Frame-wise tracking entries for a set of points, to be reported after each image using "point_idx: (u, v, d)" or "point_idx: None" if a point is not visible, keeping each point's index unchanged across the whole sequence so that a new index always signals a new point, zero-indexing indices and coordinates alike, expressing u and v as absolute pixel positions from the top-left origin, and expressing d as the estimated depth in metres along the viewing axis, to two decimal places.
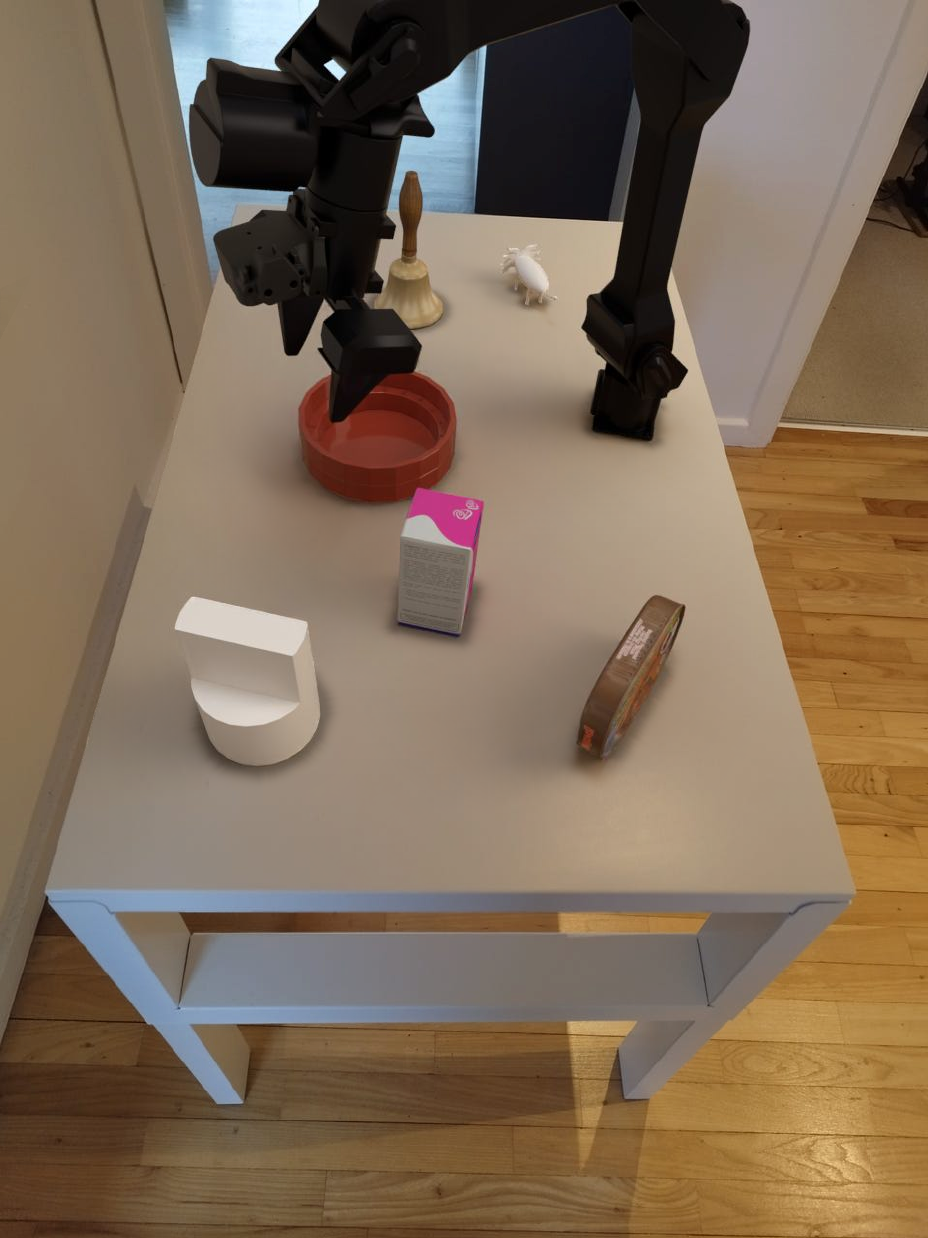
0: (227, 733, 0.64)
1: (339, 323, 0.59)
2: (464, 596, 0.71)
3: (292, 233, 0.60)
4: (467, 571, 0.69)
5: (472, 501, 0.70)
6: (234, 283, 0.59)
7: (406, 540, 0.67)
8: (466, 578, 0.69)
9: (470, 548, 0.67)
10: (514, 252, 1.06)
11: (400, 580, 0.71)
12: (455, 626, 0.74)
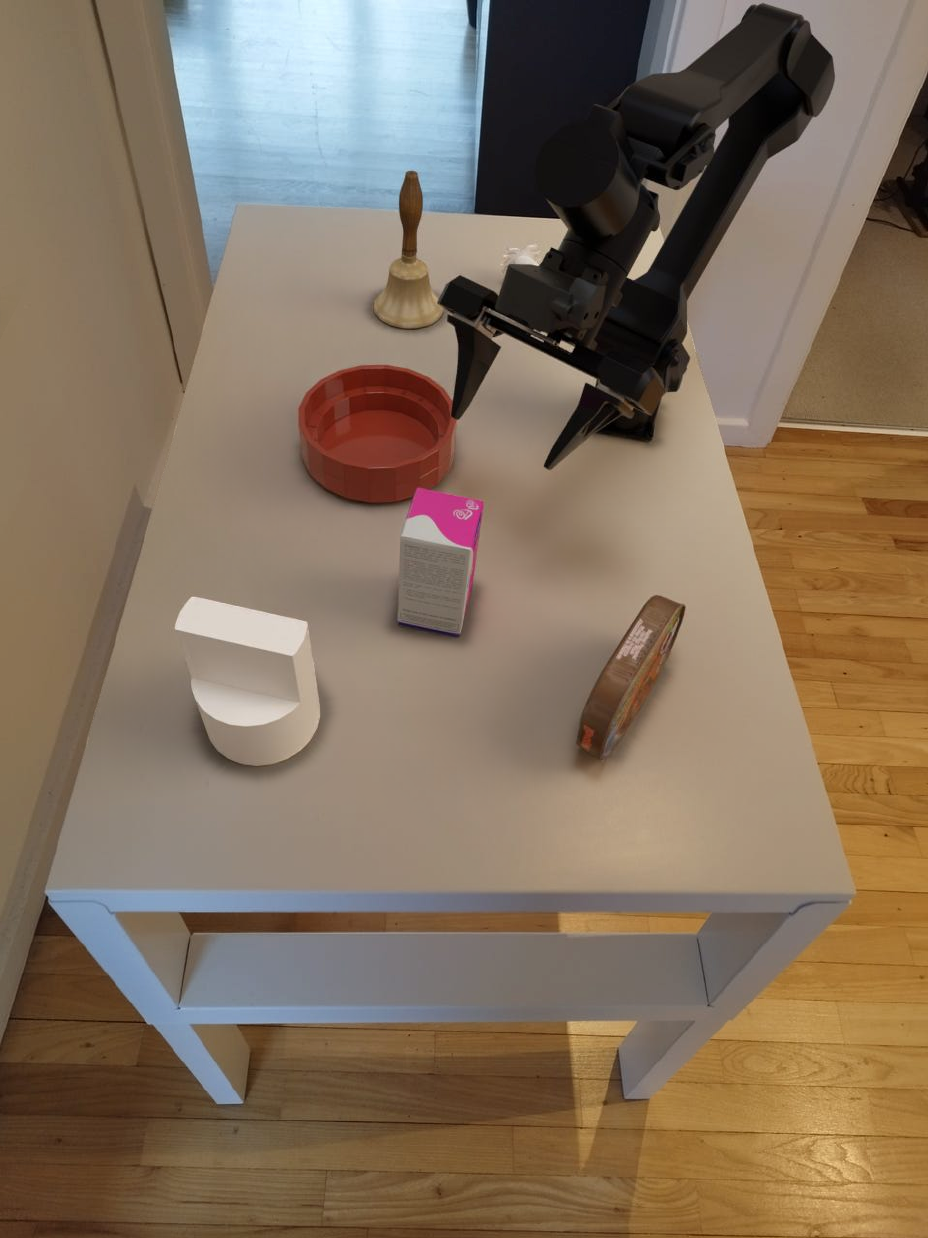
0: (227, 733, 0.64)
1: (623, 357, 0.64)
2: (464, 596, 0.71)
3: (569, 279, 0.65)
4: (467, 571, 0.69)
5: (473, 501, 0.70)
6: (542, 307, 0.61)
7: (406, 540, 0.67)
8: (466, 578, 0.69)
9: (470, 548, 0.67)
10: (514, 252, 1.06)
11: (400, 580, 0.71)
12: (455, 626, 0.74)
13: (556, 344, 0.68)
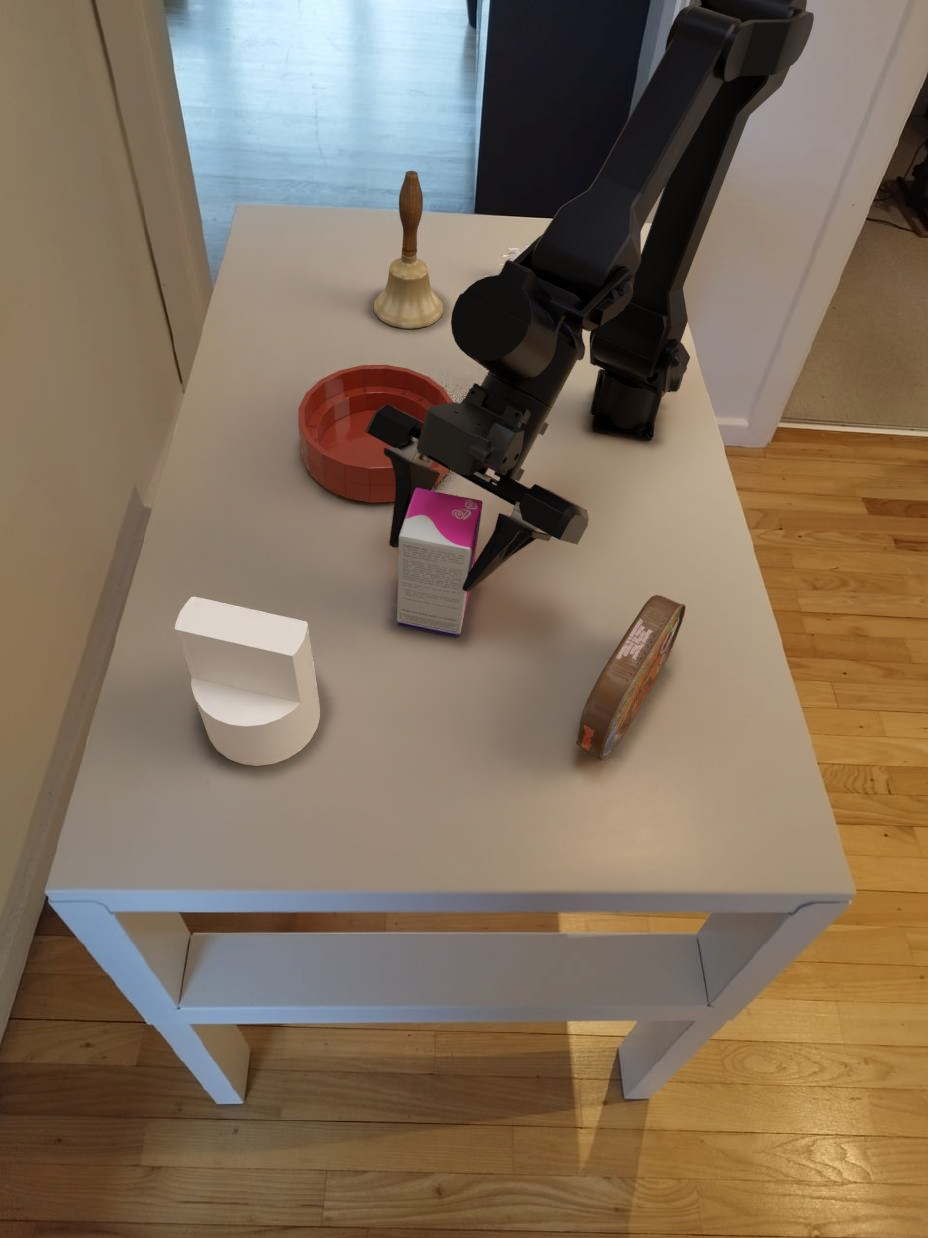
0: (227, 733, 0.64)
1: (545, 494, 0.65)
2: (463, 596, 0.71)
3: (491, 417, 0.65)
4: (466, 571, 0.69)
5: (471, 500, 0.70)
6: (461, 452, 0.62)
7: (405, 540, 0.67)
8: (465, 578, 0.69)
9: (469, 548, 0.67)
10: (514, 252, 1.06)
11: (399, 580, 0.71)
12: (455, 626, 0.74)
13: (491, 481, 0.68)
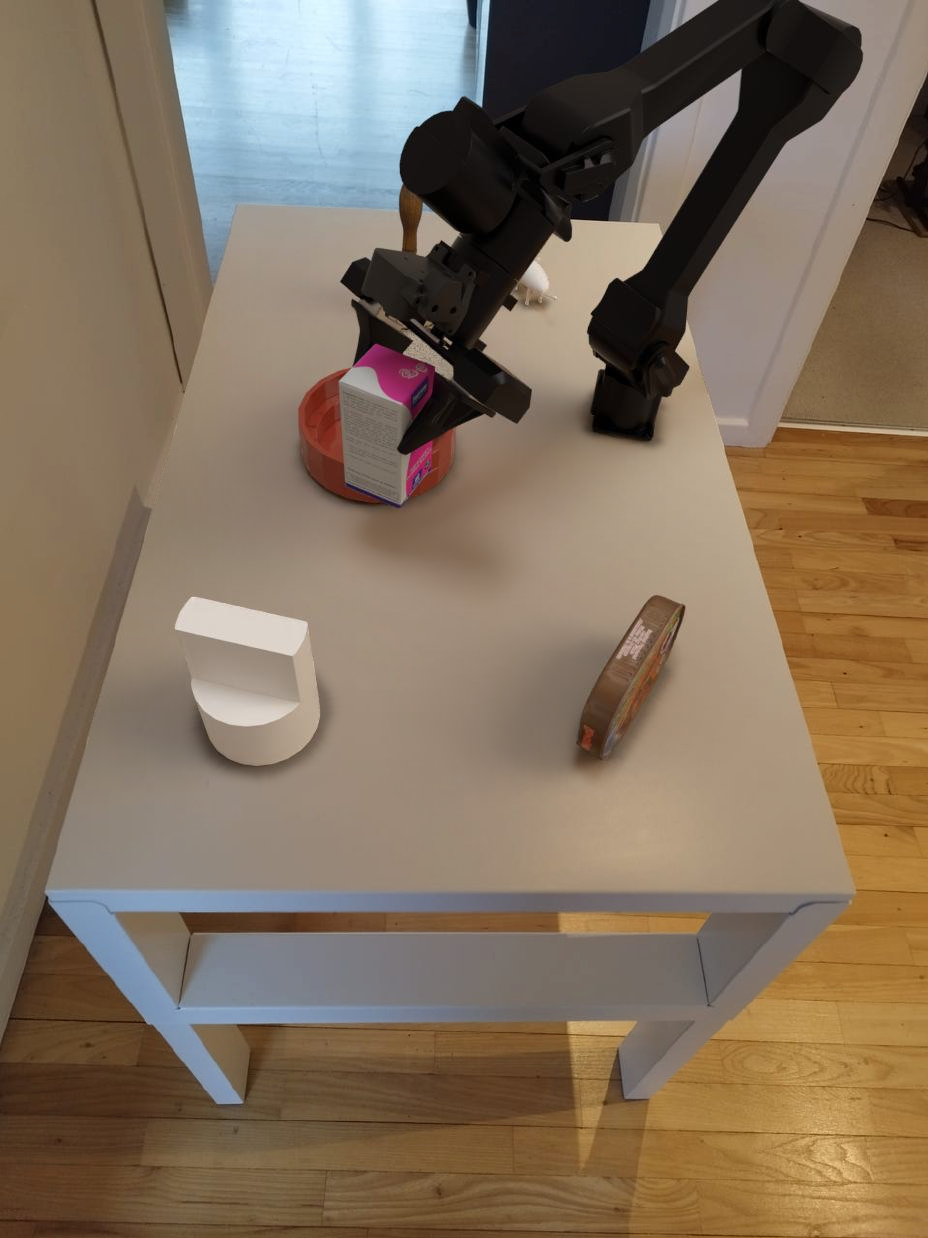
0: (227, 733, 0.64)
1: (480, 358, 0.64)
2: (400, 460, 0.71)
3: None
4: (400, 430, 0.68)
5: (424, 364, 0.69)
6: (394, 293, 0.61)
7: (343, 385, 0.67)
8: (400, 438, 0.69)
9: (401, 403, 0.66)
10: None
11: (343, 433, 0.71)
12: (395, 495, 0.74)
13: (440, 343, 0.67)
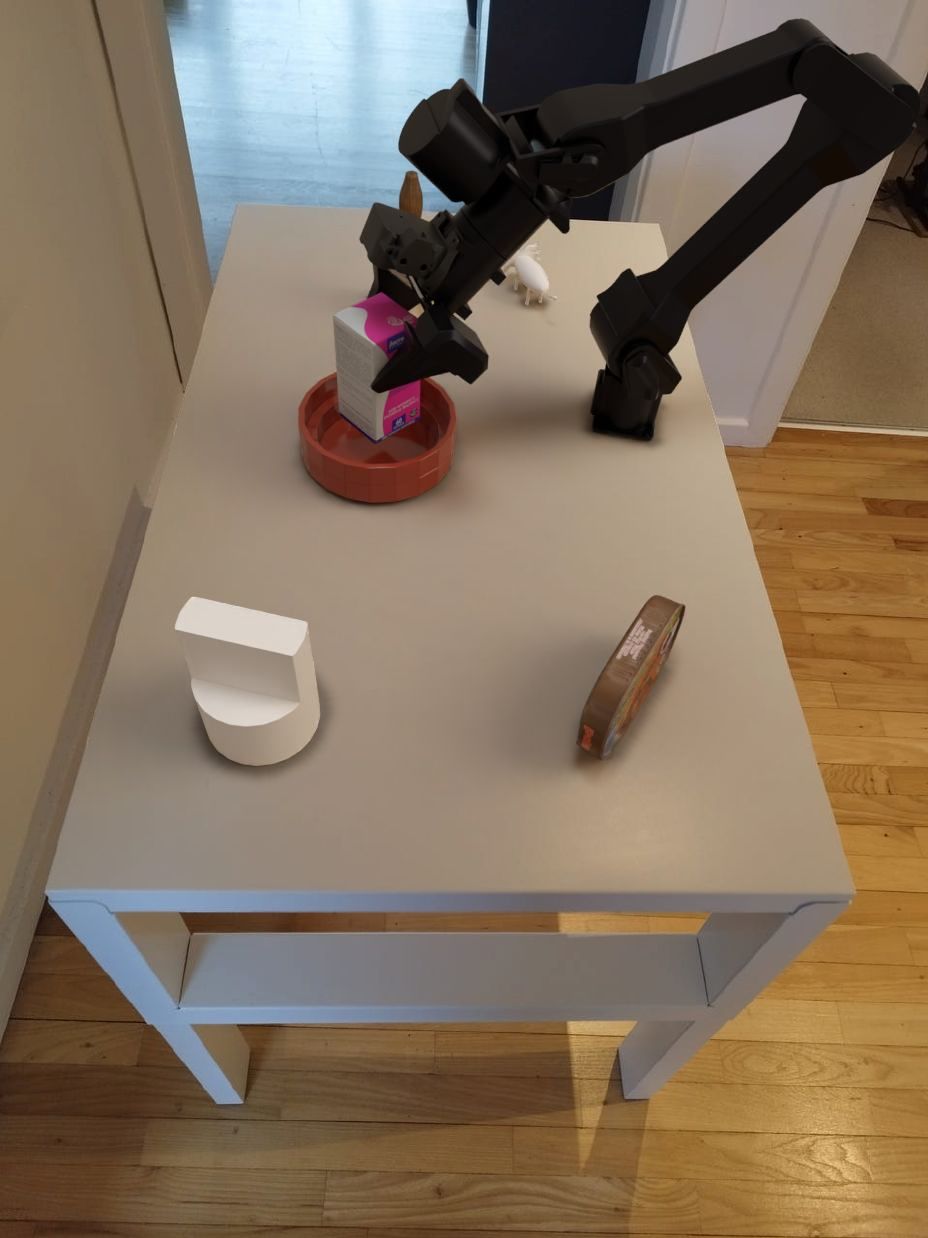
0: (227, 733, 0.64)
1: (441, 315, 0.71)
2: (374, 397, 0.79)
3: (434, 236, 0.72)
4: (374, 369, 0.77)
5: (412, 317, 0.77)
6: (376, 242, 0.70)
7: (335, 319, 0.77)
8: (373, 376, 0.77)
9: (374, 343, 0.75)
10: None
11: (336, 364, 0.81)
12: (372, 430, 0.82)
13: (423, 299, 0.75)
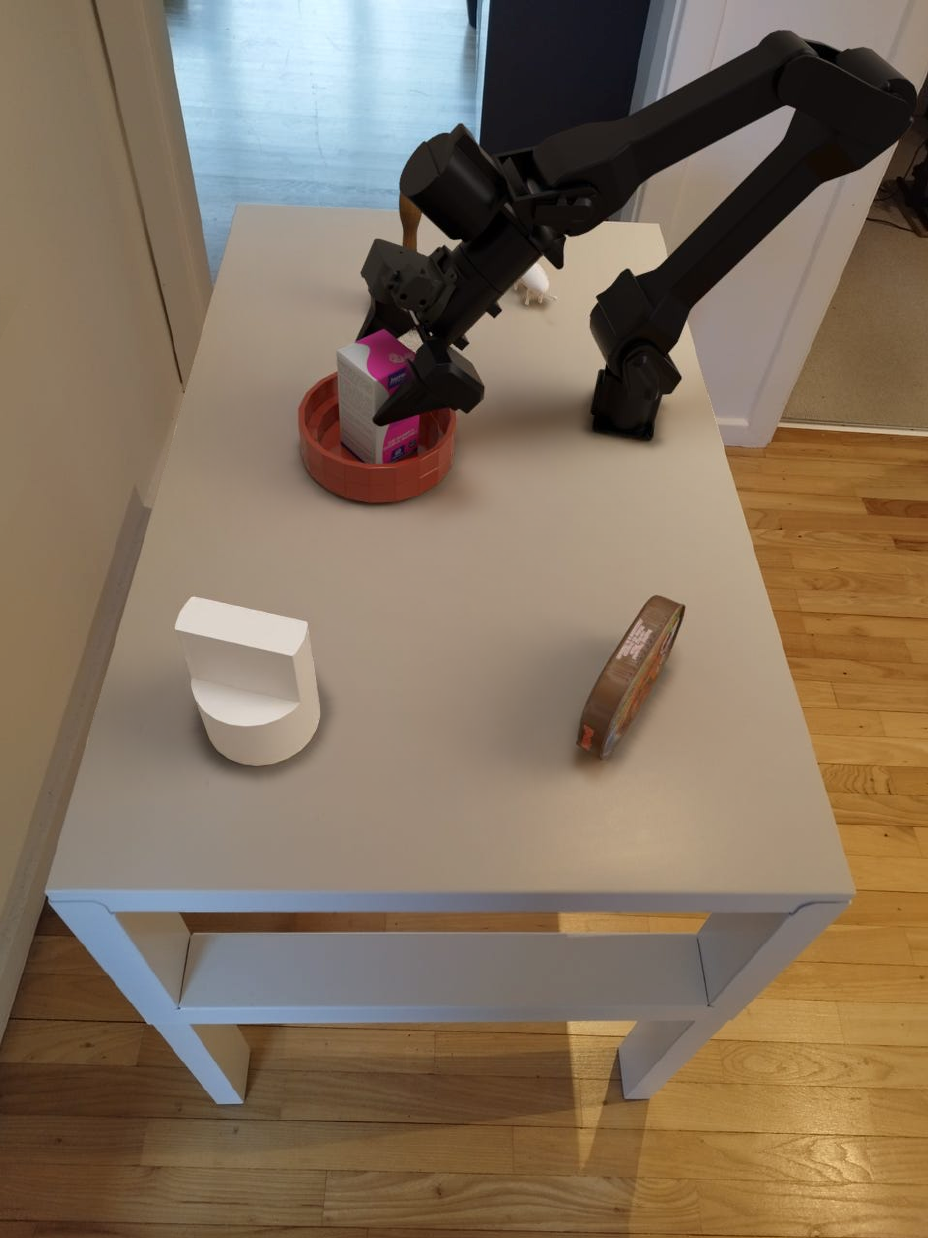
0: (227, 733, 0.64)
1: (439, 348, 0.73)
2: (375, 430, 0.82)
3: (432, 271, 0.74)
4: (375, 403, 0.80)
5: (413, 354, 0.80)
6: (376, 277, 0.72)
7: (339, 355, 0.80)
8: (374, 410, 0.80)
9: (376, 380, 0.78)
10: None
11: (339, 396, 0.84)
12: (371, 460, 0.85)
13: (419, 325, 0.78)
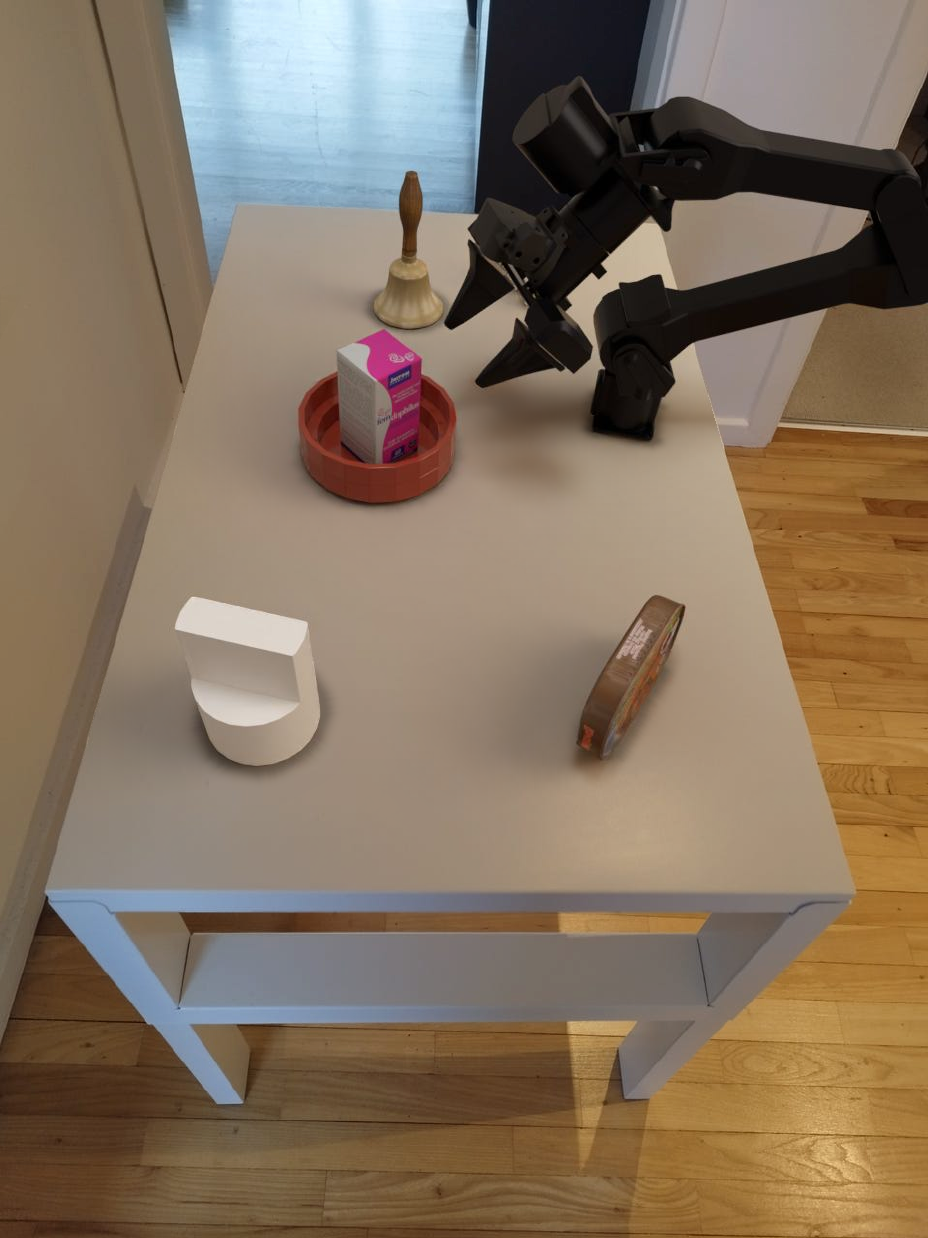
0: (227, 733, 0.64)
1: (551, 306, 0.74)
2: (375, 430, 0.82)
3: (542, 230, 0.75)
4: (375, 403, 0.80)
5: (413, 354, 0.80)
6: (490, 236, 0.72)
7: (339, 355, 0.80)
8: (374, 410, 0.80)
9: (376, 380, 0.78)
10: None
11: (339, 396, 0.84)
12: (371, 460, 0.85)
13: (524, 286, 0.78)
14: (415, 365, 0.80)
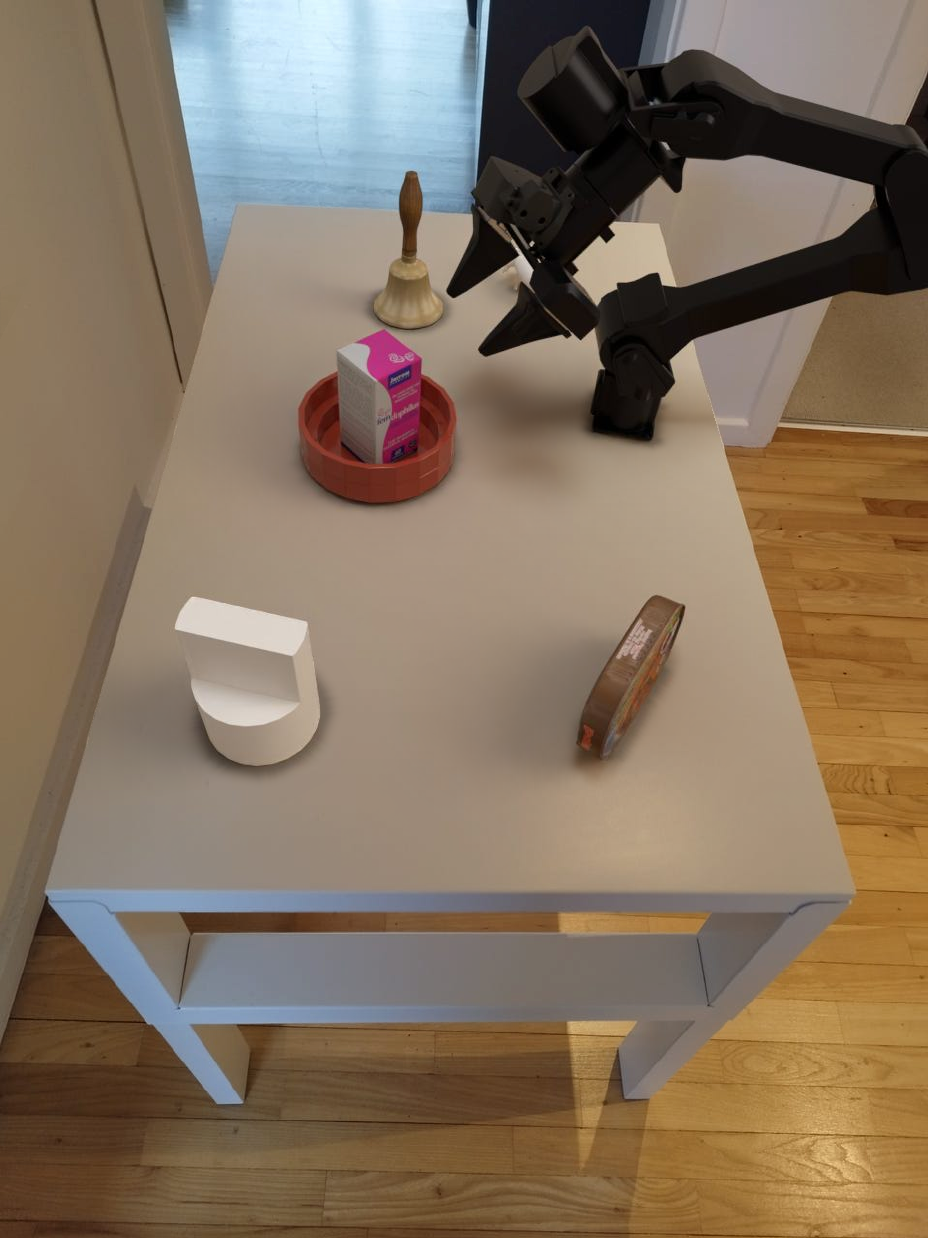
0: (227, 733, 0.64)
1: (557, 268, 0.71)
2: (375, 430, 0.82)
3: None
4: (375, 403, 0.80)
5: (413, 354, 0.80)
6: (494, 194, 0.70)
7: (339, 355, 0.80)
8: (374, 410, 0.80)
9: (376, 380, 0.78)
10: None
11: (339, 396, 0.84)
12: (371, 460, 0.85)
13: (529, 250, 0.75)
14: (415, 365, 0.80)
